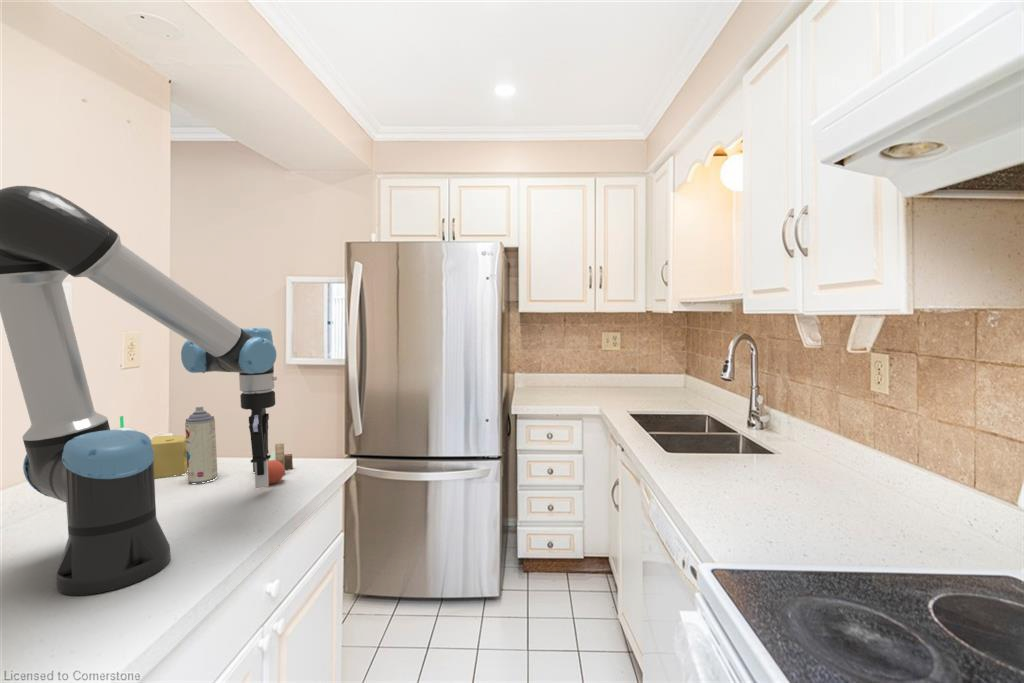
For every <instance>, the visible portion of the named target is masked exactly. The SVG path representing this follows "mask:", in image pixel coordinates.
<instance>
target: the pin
mask: <svg viewBox="0 0 1024 683" xmlns="http://www.w3.org/2000/svg"><path fill="white" fill-rule="evenodd" d="M274 450H275V455H276V461H279V462H280V463H282V465H283V466H284V475H283V476H286V470H285V459H284V455H285V443H276V444H275V445H274Z"/></svg>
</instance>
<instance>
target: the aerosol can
mask: <svg viewBox="0 0 1024 683" xmlns="http://www.w3.org/2000/svg"><path fill="white" fill-rule="evenodd" d="M215 420H216V419H215V416H214V415H211V414H210V413H209V412H207V411H206V410H204V406H195V410H194V412H193V413H192V414H189V417H188V418H186V419H185V422H184V423H185V424H184V426H185V427H184V429H185V430H184V431H185V437H186V450H187V469H188V472H187V482H189V483H202V482H207V481H210V480H213V479H215V478H216V477H217V476H218V460H217V459H218V457H217V440H216V439H217V435H216V421H215ZM218 477H219V476H218ZM189 483H188V484H189Z"/></svg>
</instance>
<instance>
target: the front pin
mask: <svg viewBox="0 0 1024 683" xmlns="http://www.w3.org/2000/svg"><path fill="white" fill-rule="evenodd" d="M268 455H271V458H269V459H268V461H270V460H276V455H275V449H274V450H271V451H269V453H268Z"/></svg>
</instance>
